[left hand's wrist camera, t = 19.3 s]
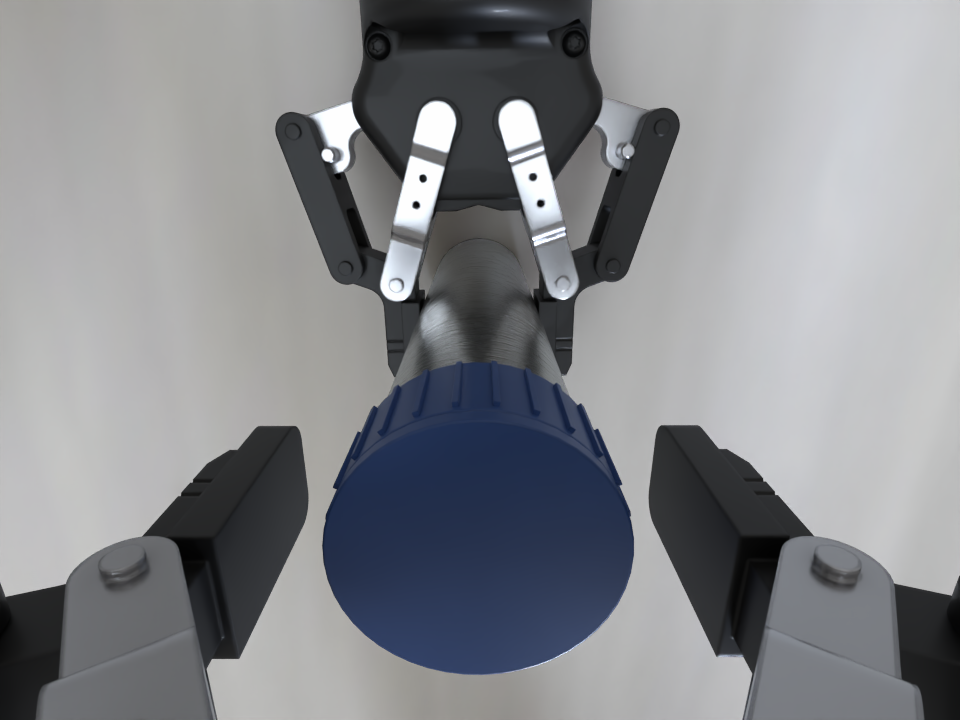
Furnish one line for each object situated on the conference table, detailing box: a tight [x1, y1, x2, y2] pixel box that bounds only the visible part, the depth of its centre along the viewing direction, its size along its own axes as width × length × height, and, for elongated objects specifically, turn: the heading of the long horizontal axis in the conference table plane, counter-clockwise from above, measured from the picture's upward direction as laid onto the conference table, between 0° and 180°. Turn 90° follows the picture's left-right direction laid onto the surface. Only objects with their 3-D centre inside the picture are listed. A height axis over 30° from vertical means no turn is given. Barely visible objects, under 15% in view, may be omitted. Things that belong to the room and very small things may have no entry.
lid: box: [322, 361, 634, 675], centre depth 10 cm, size 5×5×2 cm
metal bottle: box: [388, 239, 570, 397], centre depth 19 cm, size 4×4×20 cm
